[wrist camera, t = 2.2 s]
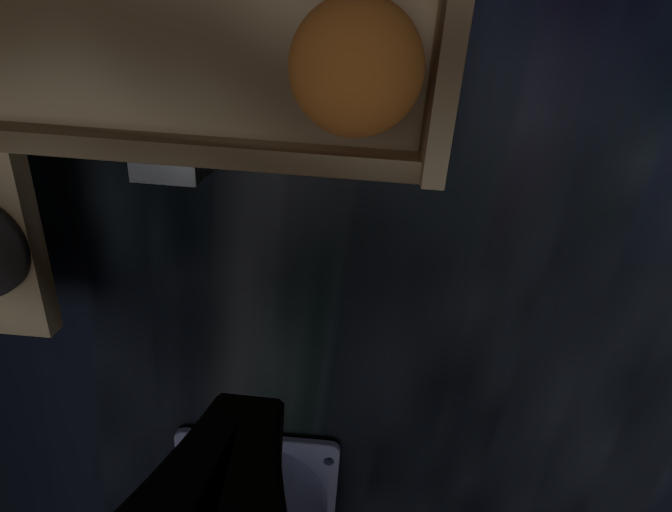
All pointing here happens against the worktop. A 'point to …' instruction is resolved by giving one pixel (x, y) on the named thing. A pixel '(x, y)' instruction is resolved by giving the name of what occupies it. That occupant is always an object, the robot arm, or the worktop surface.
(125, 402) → the worktop surface
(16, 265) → the wooden ramp
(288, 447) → the robot arm
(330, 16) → the ball
